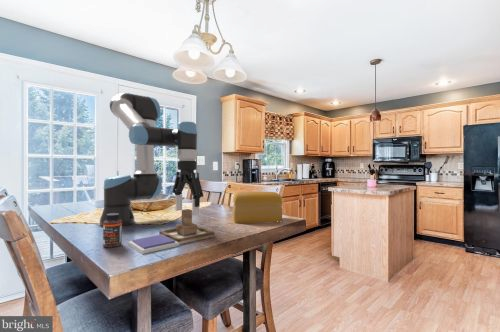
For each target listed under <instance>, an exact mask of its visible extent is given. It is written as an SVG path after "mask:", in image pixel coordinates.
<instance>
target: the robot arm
mask: <svg viewBox="0 0 500 332" xmlns="http://www.w3.org/2000/svg"><path fill="white" fill-rule="evenodd" d="M109 109H110V112H111V113H112V115H114V117H116V118H118V119H120V121H121V122H122V123H123V124H124V126H126V128H127V129H128V138H129V142H130V143H131V144H132V145H135V146H136V147H135V151H136V153H135V154H136V162H135V163H136V171H135V172H134V173H133V175H132V176H133V177H132V176H131V174H120V175H112V176H109V177H106V178H105V179H104V182H103V210H102V213H101V215H100V219H99V226H101V227H103V222H104V221H105V220H106V219H107V218H106V217H107V214H110V213H119V219H121V220H122V227H123V226H128V225H132V224H134V223H135V215H134V212H133V209H132V207H131V202H132V201H140V200H141V201H142V200H152V199H156V198H158V197H159V196H160V194H161V192H162V190H163V189H162V187H163V181H162V178H161V177H160V176H158V173H157V171H156V170H155V152H154V151H155V150H154V149H155V148H154V146H156V147H157V146H158V147H169V148H176V147H177V152H176V154H177V170H178V171H176V175H175V181H174V184H173V188H172V193H173V194H174V195H175V211H178V212H179V211H182V210H183V190H184V189H185V186H186V184H187V185H188V187H189V189H190V192H191V195H192V198H191V199H192V201H191V202H192V203H191V204H192V206H191V207H192V209H191V210H192V217H194V216H199V215H200V199H201V198H202V197H204V193H203V189H202V185H201V180H200V173H199V172H194V171H197V164H198V163H197V161H196V160H198V159H197V156H198V155H197V153H198V152H197V147H198V146H197V145H198V144H197V143H198V139H197V138H198V129H197V126H198V125H197V124H196V123H195V122H194V121H179V122H178V123H177V127H176V128H166V127H157V126H155V125H156V124H157V121H158V120H159V119H160V117H161V105H160V104H159V102H158V100H157V98H154V97H150V96H146V95H145V96H144V95H141V94H140V95H139V94H133V93H129V92H122V93H118V94H116V95H115V96H113V97H112V98H111V100H110V102H109Z"/></svg>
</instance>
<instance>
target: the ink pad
mask: <svg viewBox="0 0 500 332" xmlns="http://www.w3.org/2000/svg"><path fill="white" fill-rule="evenodd" d="M127 244H128V246H129V247H130V248H133V250H135V251H137V252H138V253H140V254H141V255H144V254H150V253H153V252H157V251H161V250H166V249H170V248H171V249H172V248H174V247H175V248H177V247H179V246H180V244H179V242H177V241H175V240H173V239H170V238H168V237H166V236H164V235H159V234H157V235H152V236H147V237H141V238H136V239H132V240H129V241H128V243H127Z"/></svg>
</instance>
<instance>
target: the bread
mask: <svg viewBox="0 0 500 332" xmlns="http://www.w3.org/2000/svg"><path fill="white" fill-rule="evenodd" d="M232 198H233V199H232V202H233V205H232V218H233V222H234V224H257V223H256V222H274V223H278V222H277V221H282V222H283V207H282V206H283V199H282V197H281V195H280V193H278V192H276V191H239V192H235V194H234V195H233V197H232Z"/></svg>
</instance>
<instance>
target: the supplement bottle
mask: <svg viewBox="0 0 500 332" xmlns="http://www.w3.org/2000/svg"><path fill="white" fill-rule="evenodd" d="M106 218H107V219H106V220H105V221H104V222H103V226H102V246H103V247H104V248H110V249H111V248H116V247H119V246H120V245H122V244H123V243H122V240H123V239H122V237H123V236H122V234H123V233H122V232H123V231H122V230H123V226H122V220H121V219H119V213H110V214H107V217H106Z"/></svg>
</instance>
